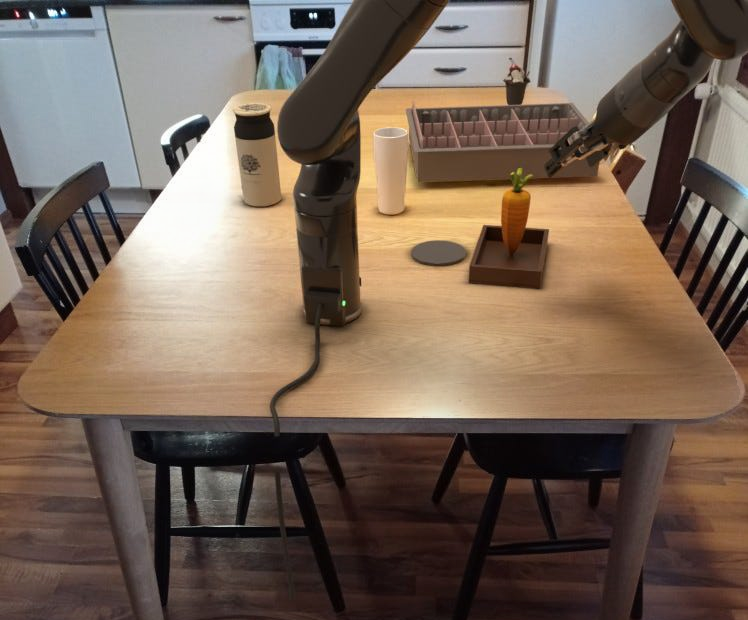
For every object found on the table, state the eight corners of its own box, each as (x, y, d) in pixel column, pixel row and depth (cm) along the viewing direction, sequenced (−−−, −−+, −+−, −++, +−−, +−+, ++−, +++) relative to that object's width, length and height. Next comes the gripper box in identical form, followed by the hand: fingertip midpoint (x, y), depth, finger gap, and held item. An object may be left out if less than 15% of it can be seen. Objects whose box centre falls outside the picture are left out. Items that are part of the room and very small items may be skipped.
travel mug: (261, 191, 168) (250, 100, 156) (289, 198, 164) (280, 105, 152) (235, 202, 163) (222, 110, 151) (264, 210, 159) (253, 115, 148)
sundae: (494, 121, 202) (499, 56, 192) (516, 118, 204) (522, 53, 194) (508, 128, 197) (514, 62, 188) (530, 124, 200) (537, 58, 190)
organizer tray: (600, 184, 166) (608, 134, 159) (414, 190, 166) (414, 141, 159) (568, 138, 190) (574, 93, 184) (405, 143, 190) (405, 99, 183)
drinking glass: (404, 217, 155) (405, 138, 145) (371, 216, 156) (369, 136, 146) (410, 205, 159) (411, 127, 150) (378, 203, 161) (376, 126, 151)
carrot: (506, 247, 142) (514, 161, 132) (530, 253, 139) (539, 167, 130) (491, 256, 139) (498, 169, 129) (515, 263, 137) (524, 175, 127)
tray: (539, 288, 130) (541, 271, 128) (468, 282, 132) (469, 265, 130) (547, 245, 143) (549, 229, 141) (482, 240, 145) (483, 224, 143)
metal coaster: (461, 268, 137) (461, 265, 136) (406, 263, 139) (406, 261, 138) (469, 245, 144) (469, 242, 144) (416, 241, 146) (416, 238, 146)
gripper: (612, 135, 102) (543, 198, 117) (686, 117, 108) (611, 179, 123) (589, 83, 102) (523, 153, 117) (665, 67, 108) (593, 136, 123)
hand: (568, 166), depth 120 cm, fingers open, 8 cm apart
